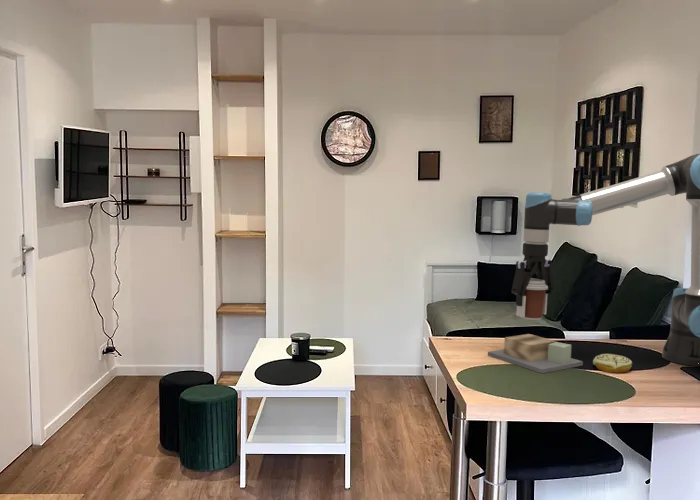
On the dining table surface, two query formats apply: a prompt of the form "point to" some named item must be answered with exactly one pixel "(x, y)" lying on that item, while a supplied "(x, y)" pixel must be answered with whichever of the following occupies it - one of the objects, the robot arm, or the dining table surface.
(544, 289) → the coffee cup
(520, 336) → the oak plinth
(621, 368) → the decorated donut
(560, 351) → the sage cube
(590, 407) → the dining table surface
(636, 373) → the dining table surface
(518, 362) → the build board
